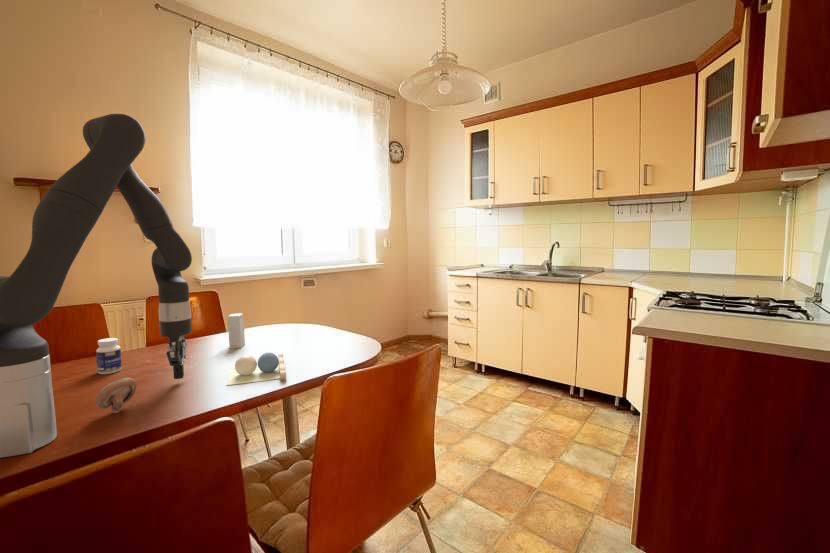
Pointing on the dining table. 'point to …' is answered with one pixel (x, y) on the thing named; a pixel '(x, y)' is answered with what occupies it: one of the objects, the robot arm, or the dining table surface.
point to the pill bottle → (108, 356)
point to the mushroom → (116, 394)
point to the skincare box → (236, 330)
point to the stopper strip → (282, 367)
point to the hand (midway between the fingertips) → (179, 377)
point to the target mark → (252, 376)
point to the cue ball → (245, 365)
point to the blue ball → (268, 362)
